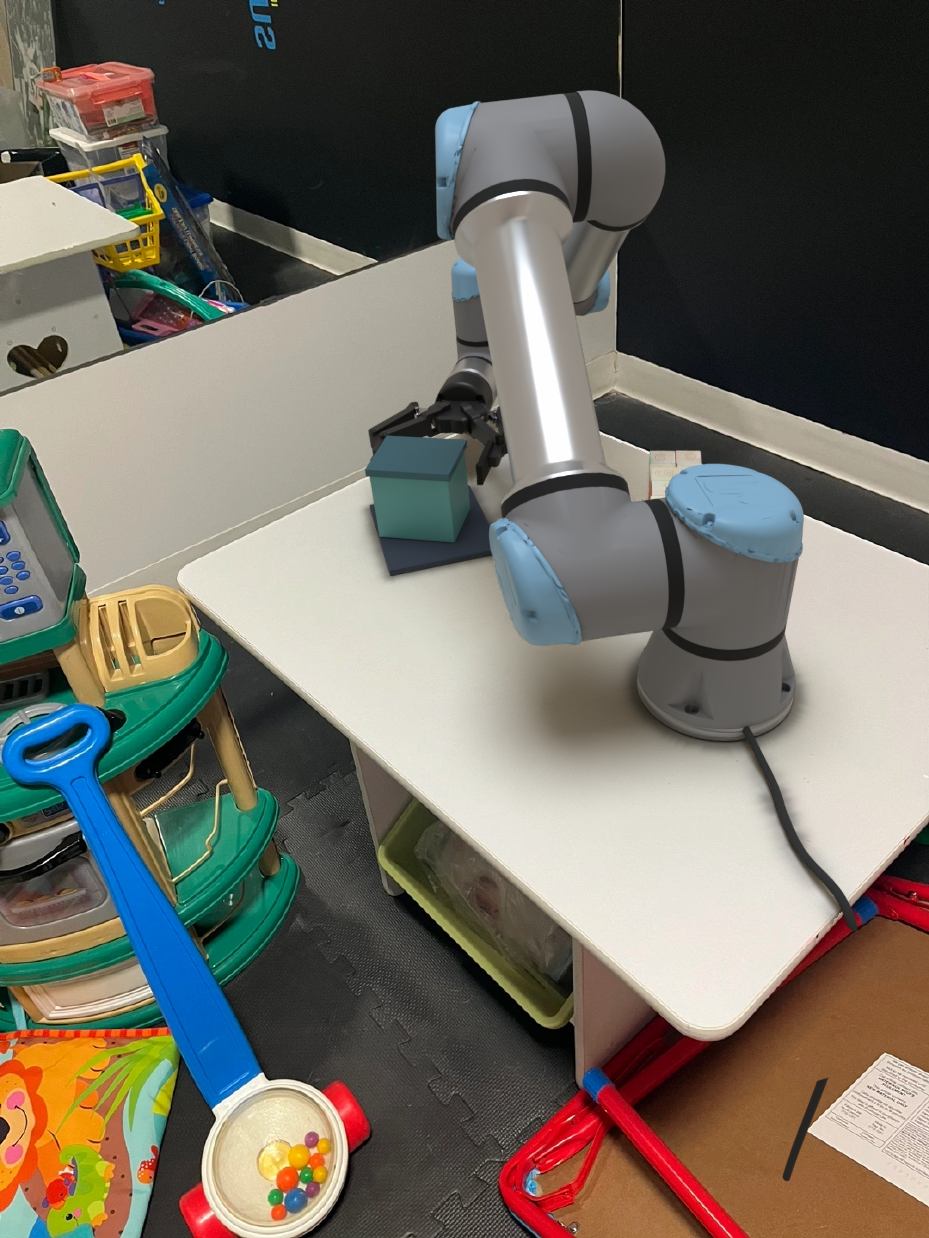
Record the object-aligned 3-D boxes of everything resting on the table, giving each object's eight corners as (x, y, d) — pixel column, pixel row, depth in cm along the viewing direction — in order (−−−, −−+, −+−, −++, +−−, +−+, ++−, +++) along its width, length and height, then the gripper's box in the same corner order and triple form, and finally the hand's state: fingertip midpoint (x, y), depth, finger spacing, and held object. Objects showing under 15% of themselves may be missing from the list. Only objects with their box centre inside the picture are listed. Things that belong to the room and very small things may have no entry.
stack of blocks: (646, 513, 117) (651, 427, 110) (696, 515, 116) (704, 427, 109) (643, 619, 101) (648, 526, 94) (701, 621, 100) (712, 527, 92)
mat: (501, 553, 113) (500, 547, 113) (390, 576, 112) (389, 570, 111) (470, 489, 126) (469, 484, 125) (370, 509, 124) (369, 504, 123)
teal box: (396, 502, 123) (386, 435, 117) (473, 507, 120) (467, 439, 114) (376, 538, 117) (364, 469, 110) (456, 544, 114) (448, 474, 108)
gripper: (555, 423, 128) (526, 504, 113) (387, 416, 134) (337, 492, 119) (554, 373, 124) (523, 450, 108) (380, 368, 130) (327, 440, 114)
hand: (426, 472), depth 113 cm, fingers open, 13 cm apart
